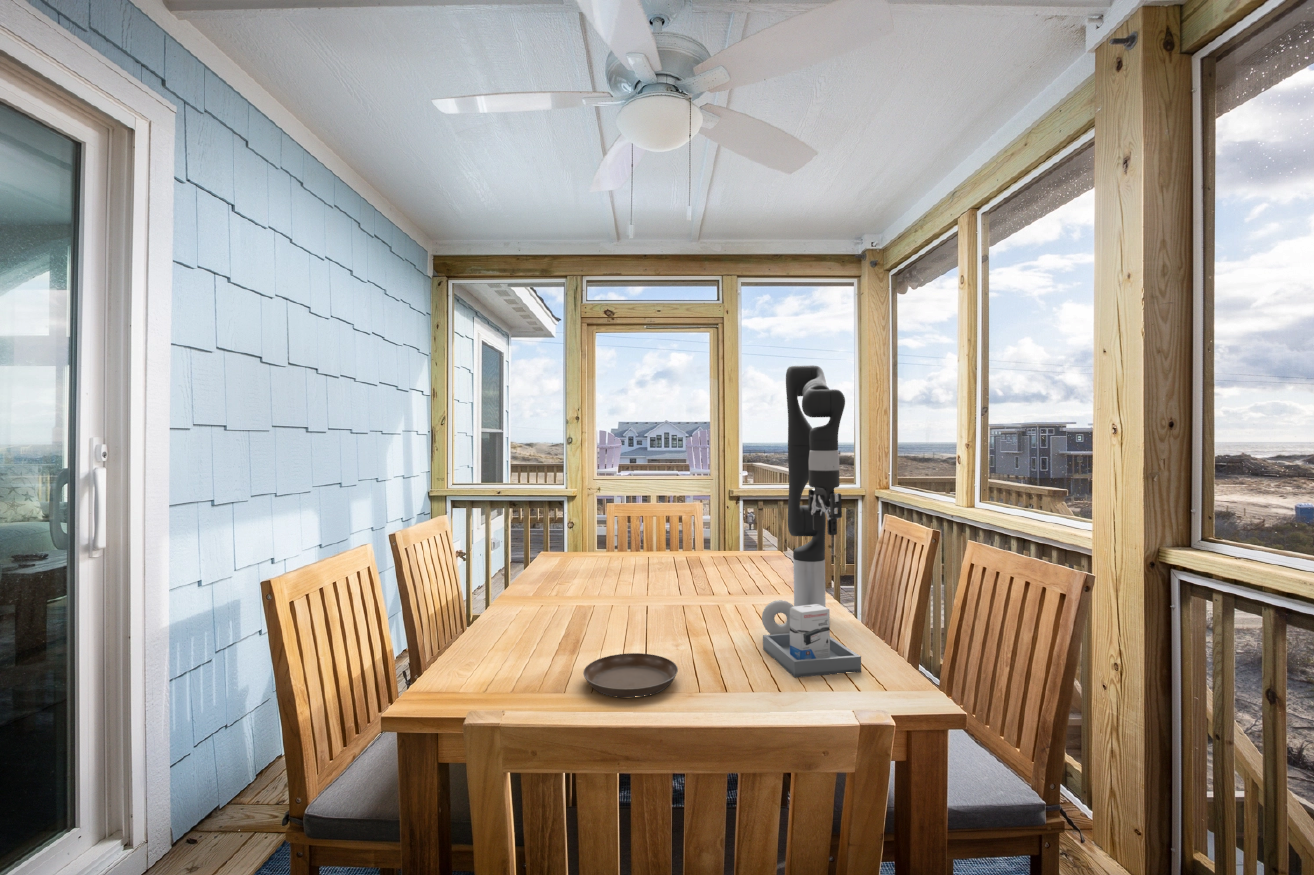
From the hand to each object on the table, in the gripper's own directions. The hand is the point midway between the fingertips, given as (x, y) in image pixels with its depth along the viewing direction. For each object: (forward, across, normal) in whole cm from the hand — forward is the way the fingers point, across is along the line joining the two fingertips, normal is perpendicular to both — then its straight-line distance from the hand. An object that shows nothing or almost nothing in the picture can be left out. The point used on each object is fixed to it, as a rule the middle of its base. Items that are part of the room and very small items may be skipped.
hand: (824, 532), depth 159 cm
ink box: (+29, -8, +8) cm, 31 cm away
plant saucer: (+29, -13, +52) cm, 61 cm away
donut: (+30, +10, +8) cm, 33 cm away
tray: (+29, -8, +8) cm, 31 cm away
